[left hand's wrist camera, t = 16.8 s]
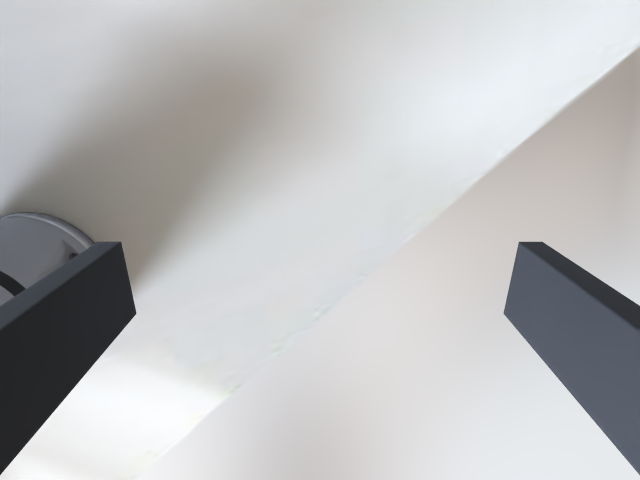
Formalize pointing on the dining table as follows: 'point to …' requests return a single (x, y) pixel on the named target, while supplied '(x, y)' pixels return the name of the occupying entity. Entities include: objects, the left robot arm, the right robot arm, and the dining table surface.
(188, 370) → the dining table surface
